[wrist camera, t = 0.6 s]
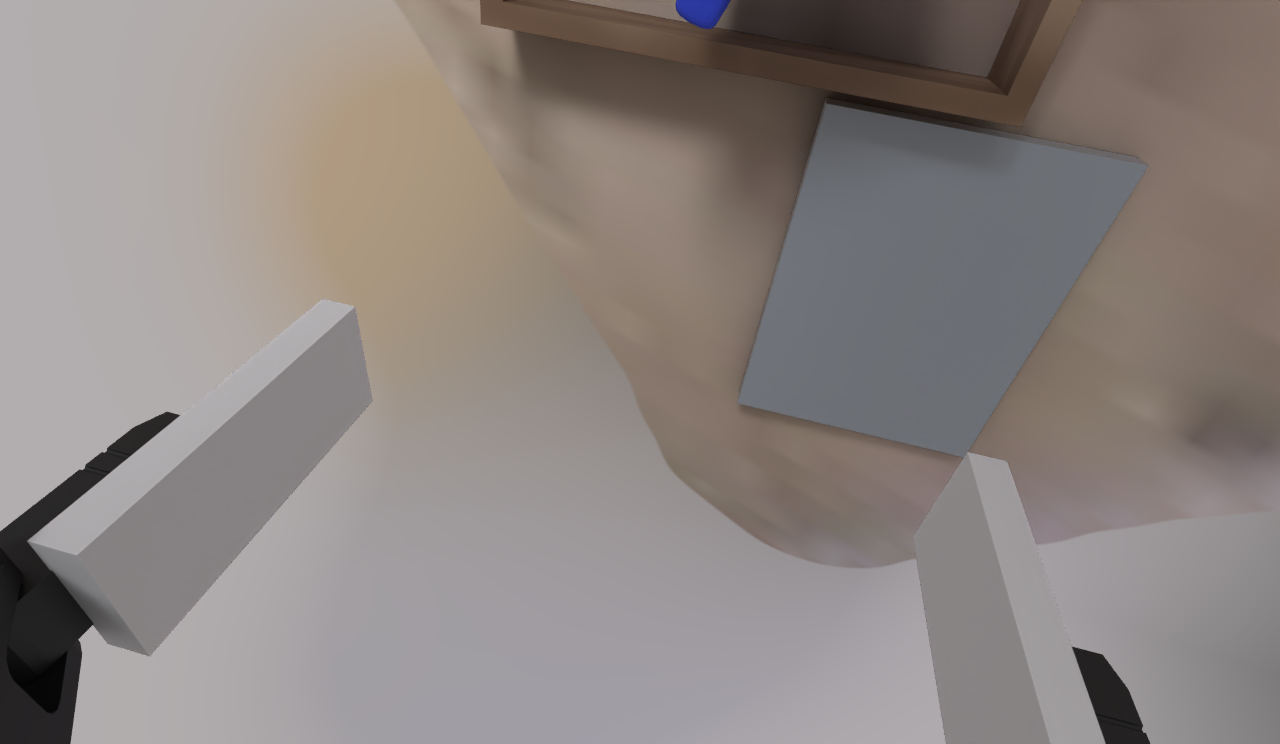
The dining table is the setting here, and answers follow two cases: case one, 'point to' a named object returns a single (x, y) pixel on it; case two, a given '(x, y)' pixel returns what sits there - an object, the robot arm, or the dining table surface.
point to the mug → (702, 11)
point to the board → (924, 271)
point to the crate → (815, 55)
